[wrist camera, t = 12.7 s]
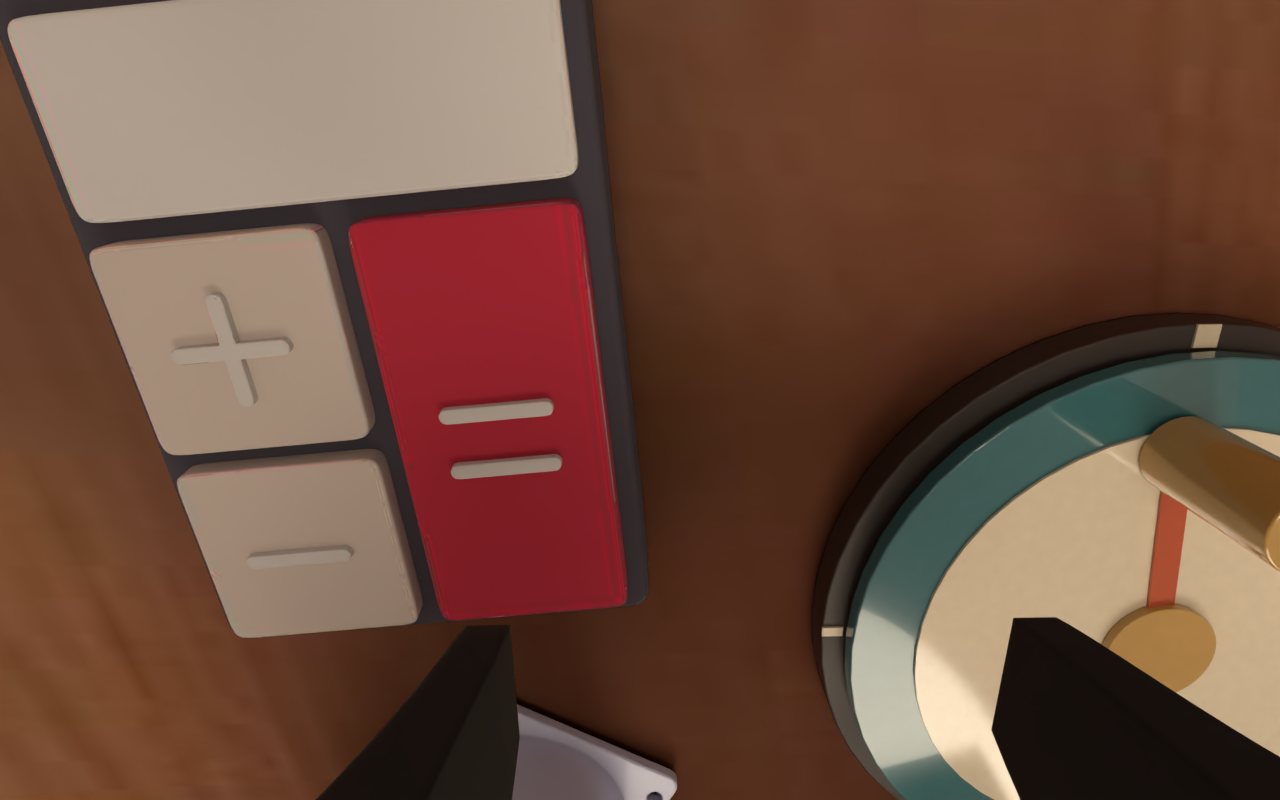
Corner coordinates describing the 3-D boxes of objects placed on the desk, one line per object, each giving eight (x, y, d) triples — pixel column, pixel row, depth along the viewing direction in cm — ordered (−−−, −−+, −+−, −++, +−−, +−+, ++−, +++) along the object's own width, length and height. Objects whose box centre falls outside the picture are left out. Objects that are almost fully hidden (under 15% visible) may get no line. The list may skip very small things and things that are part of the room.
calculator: (217, 664, 19) (-60, -12, 13) (289, 562, 23) (103, 10, 17) (652, 627, 18) (575, -80, 12) (647, 531, 22) (588, -40, 16)
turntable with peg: (1377, 816, 24) (1547, 973, 19) (854, 871, 24) (902, 1034, 20) (1521, 308, 18) (1808, 366, 14) (830, 396, 19) (892, 479, 14)
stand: (1127, 885, 27) (1150, 920, 26) (702, 693, 24) (706, 724, 23) (1550, 497, 22) (1604, 519, 20) (1074, 184, 18) (1105, 188, 17)
